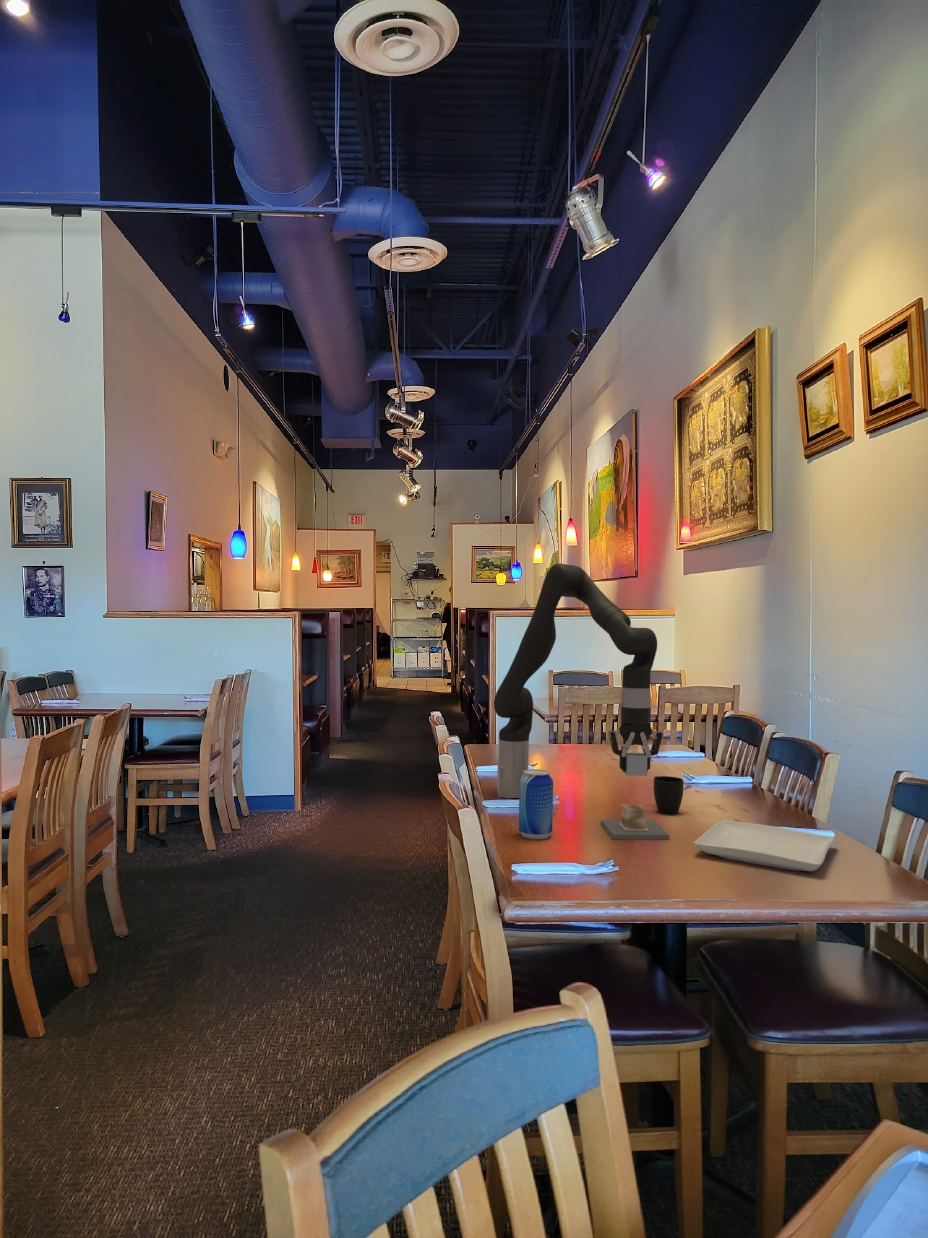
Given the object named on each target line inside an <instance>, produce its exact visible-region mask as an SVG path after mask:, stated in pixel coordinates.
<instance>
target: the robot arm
mask: <svg viewBox="0 0 928 1238" xmlns="http://www.w3.org/2000/svg"><path fill="white" fill-rule="evenodd" d="M562 597H563V598H575V599H577V600H579V601H580V602H582V604H583V603H584V604H585V605H586V606H587V607H588V610H589V613H590V616H591V618H592V619H593V621H594V622H595V623H596V624H597V625H598V626H599V627H600V628H601V629H602V630H603V631H604V632H606V634H608V635H609V637H610V640H611V641H612V642H613V644H614V646H615V647H616V648H617V649H618V651H620V653H622V654H624V655H628V656H634V657H633V659H632V662H631V663H628V664H626V665H625V666H623V669H622V687H621V688H622V690H621V695H620V696H621V698H620V699H621V700H620V726H619V728H618V729H615V730H609V731H608V737H609V738H608V739H609V741H610V742H609V743H610V746H611V751H612V753H613V754H615V755H616V756H618V757H619V763H618V765H619V769H620V770H621V771H622V773H624V772H626V754H627V753H629V750H630V748H631V746H635V745H637V746H640V747H641V749H642V753H643V754H645V755H646V756H647V773H649V772H648V771H649V770H650V769H651V758H652V757H654V756H657V755H658V754H659V751H660V746H661V743H662V740H663V735H664V734H663V732H661V731H659V730H653V728H652V727H651V726H652V725H651V724H652V721H651V719H652V715H651V714H652V694H651V671H652V668H653V666H654V663H655V658H656V654H657V650H658V639H657V636H656V634H655V632H654V630H652V629H651V628H650V627H632V626H631V625H632V623H631V618H630V617H629V615H628V614H626V613H625V612H624V611H623V609H621V608H619V606H617V605H616V604H615V603H614V602H613V601H611V600H610V598H608V597H607V596H606V595H605V594H604V593H603V591H601V589H600V588H599V587H598V586H597V585H596V583H595V582H594V581H593V579H591V577H590V576H589V574H588V573H587V572H586V571H585V570H584V569H583V568H582V567H580V566H578V565H575V564H574V565H572V564H565V563H555V564H553V565H551V567H549V569H548V571H547V572H546V575H545V577H544V580H543V583H542V586H541V590H540V593H539V595H538V599H537V601H536V602H537V603H536V605H535V608H534V611H533V613H532V615H531V618H530V620H529V623H528V625H527V627H526V630H525V632H524V634H523V637H521V638H522V639H521V641H520V644H519V646H518V649H517V652H516V654H515V655H514V658H513V660H512V663H511V664H510V667H509V669H508V671H507V673H506V675H505V676H504V678H503V680H502V682H501V683H500V686H499V687H498V689H497V691H496V693H495V695H494V700H493V709H494V712H495V714H496V715H497V716H498V717H500V718H502V719H509V721H508V722H507V724H506V725H505V726H503V727H502V728H501V729H499V730H498V731H499V732H498V761H497V768H496V769H497V776H496V777H497V779H496V780H497V782H496V783H497V784H496V793H497V797H498V798H504V799H511V798H519V785H520V778H521V777H522V775H523V774H524V772H523V771H524V770H528V769H529V761H530V760H529V758H530V757H529V755H530V754H529V753H530V748H529V747H530V734H531V731H532V728H533V717H534V716H533V714H534V700H533V695H532V693H531V691H530V690H529V689H528V688H527V687H525V685H526V683H527V682H528V680H529V679H530V678H531V677H533V675H534V674H536V672H537V671H538V670H540V668H541V667H542V666H543V665H544V664H545V663H546V661H547V660H548V658H549V657H550V654H551V652H552V650H553V648H554V645H555V644H556V639H557V631H556V630H557V629H556V622H555V613H556V610H557V608H558V604H559V603H560V600H561V598H562ZM619 735H620V736H621V737H622V739H623V740H622V743H621V747H620V748H619V746H618V745H619V744H618V740H617V739H619ZM651 736H652V739H653V741H652V744H651V748H650V746H649V743H648V739H649V738H650V737H651Z"/></svg>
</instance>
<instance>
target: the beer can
mask: <svg viewBox="0 0 928 1238" xmlns="http://www.w3.org/2000/svg"><path fill="white" fill-rule="evenodd" d="M523 772H524V774H523V775H522V777H521V778H520V785H519V800H518V831H519V833H520V835H521V836H522V837H523V838H526V839H529V840H545V839H548V838H550V835H551V834H552V833H553V819H554V817H553V815H554V814H553V813H554V812H553V811H554V780H553V778H552V776H551V775H550V771H549V770H545V769H541V768H539V769H537V768H533V769H532V768H531V769H530V768H528V770H524V771H523Z"/></svg>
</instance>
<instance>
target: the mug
mask: <svg viewBox="0 0 928 1238" xmlns="http://www.w3.org/2000/svg"><path fill="white" fill-rule="evenodd" d="M684 782H685V781H684V779H683V778H680V777H677V776H669V775H668V776H667V775H661V776H659V775H657V776H654V777H653V796H654V801H655V805H656V808H657V813H659V814H662V815H666V814H668V816H673V814H676V815H679V811H680V808H681V806H682V805H681V804H682V801H683V796H684Z"/></svg>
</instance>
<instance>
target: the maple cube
mask: <svg viewBox="0 0 928 1238" xmlns="http://www.w3.org/2000/svg"><path fill="white" fill-rule="evenodd" d="M621 820H622V825H623V826H624V827H625V828H626V829H646V820H647V809H646V808H645V806H644V805H642V804H621Z"/></svg>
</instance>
